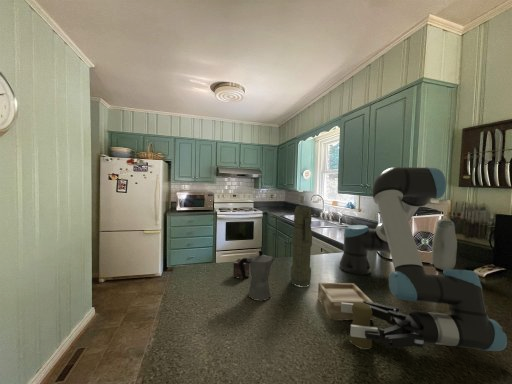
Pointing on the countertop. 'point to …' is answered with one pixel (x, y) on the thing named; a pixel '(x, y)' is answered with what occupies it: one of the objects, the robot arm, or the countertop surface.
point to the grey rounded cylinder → (444, 245)
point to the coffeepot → (258, 275)
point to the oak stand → (339, 298)
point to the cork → (361, 322)
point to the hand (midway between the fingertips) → (345, 317)
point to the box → (237, 269)
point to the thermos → (301, 246)
